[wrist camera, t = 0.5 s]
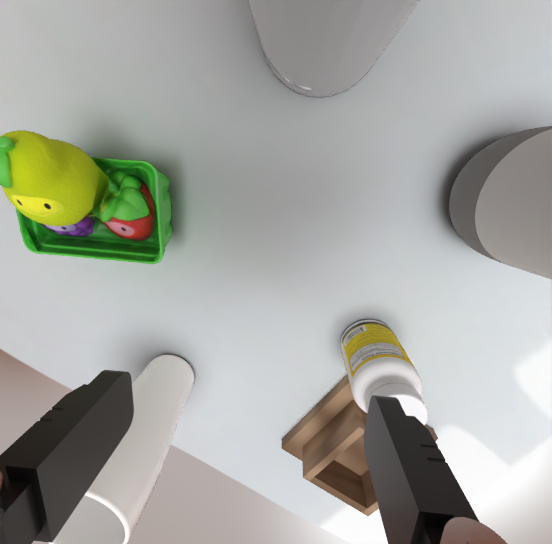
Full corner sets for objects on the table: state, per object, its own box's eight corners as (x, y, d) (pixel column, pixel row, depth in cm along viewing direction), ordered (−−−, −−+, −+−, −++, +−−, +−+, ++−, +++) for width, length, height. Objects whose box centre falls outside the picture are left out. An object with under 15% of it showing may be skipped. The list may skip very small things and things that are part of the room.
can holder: (348, 372, 31) (357, 406, 27) (433, 429, 33) (454, 470, 28) (282, 439, 35) (279, 478, 31) (360, 487, 37) (369, 531, 32)
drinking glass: (184, 406, 34) (105, 572, 20) (132, 377, 34) (12, 529, 19) (213, 367, 32) (148, 522, 18) (159, 335, 31) (45, 470, 17)
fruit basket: (70, 239, 29) (-65, 281, 18) (53, 139, 26) (-120, 118, 15) (186, 248, 28) (118, 297, 18) (182, 147, 25) (97, 132, 15)
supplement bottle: (389, 366, 31) (428, 451, 22) (336, 361, 31) (352, 443, 22) (400, 320, 29) (447, 391, 20) (343, 315, 29) (365, 382, 20)
